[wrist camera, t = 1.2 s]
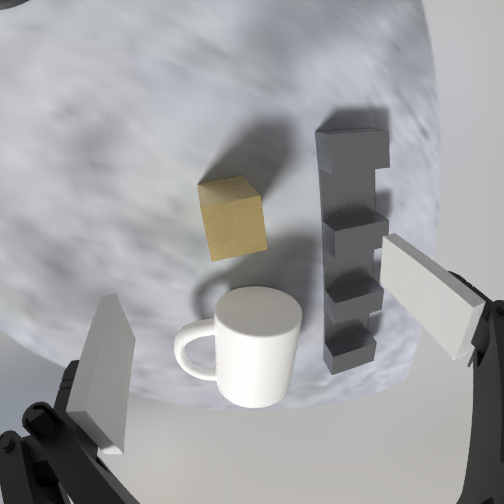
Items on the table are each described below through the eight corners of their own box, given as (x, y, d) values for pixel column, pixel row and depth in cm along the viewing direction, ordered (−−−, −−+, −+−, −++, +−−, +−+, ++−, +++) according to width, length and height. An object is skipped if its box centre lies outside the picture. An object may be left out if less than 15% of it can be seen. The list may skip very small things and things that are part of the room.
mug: (288, 282, 32) (315, 330, 25) (278, 353, 36) (298, 402, 29) (170, 289, 30) (168, 342, 23) (178, 361, 34) (181, 415, 27)
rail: (315, 132, 26) (329, 134, 23) (370, 128, 27) (388, 130, 24) (323, 359, 38) (331, 375, 36) (363, 346, 39) (373, 360, 36)
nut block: (197, 184, 26) (200, 207, 20) (242, 175, 26) (260, 195, 20) (205, 226, 28) (211, 261, 22) (249, 218, 28) (267, 249, 22)
